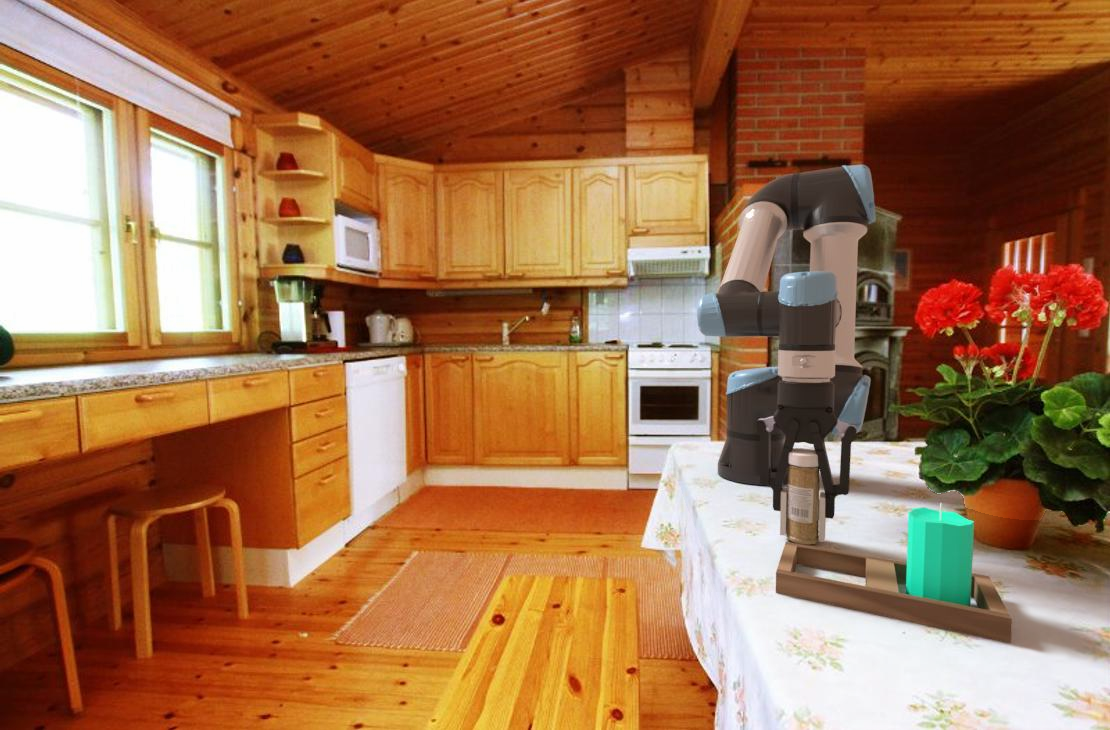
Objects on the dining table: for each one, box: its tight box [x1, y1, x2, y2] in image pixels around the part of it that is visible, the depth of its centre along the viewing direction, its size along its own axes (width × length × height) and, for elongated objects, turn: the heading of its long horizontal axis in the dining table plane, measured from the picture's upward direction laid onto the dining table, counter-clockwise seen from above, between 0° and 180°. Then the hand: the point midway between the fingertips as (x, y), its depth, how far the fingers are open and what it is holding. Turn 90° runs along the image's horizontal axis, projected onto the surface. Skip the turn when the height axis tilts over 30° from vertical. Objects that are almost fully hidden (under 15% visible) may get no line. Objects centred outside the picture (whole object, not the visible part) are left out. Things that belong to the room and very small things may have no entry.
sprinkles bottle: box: [786, 447, 820, 546], centre depth 79 cm, size 5×5×14 cm
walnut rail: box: [775, 541, 1013, 644], centre depth 64 cm, size 10×22×2 cm, turn 61°
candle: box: [905, 502, 975, 607], centre depth 61 cm, size 6×6×12 cm
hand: (802, 534), depth 80 cm, fingers closed on sprinkles bottle, 4 cm apart
